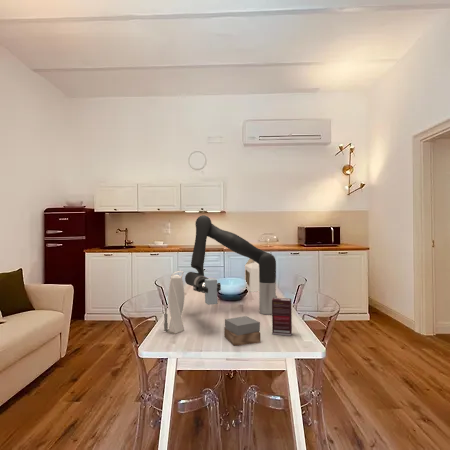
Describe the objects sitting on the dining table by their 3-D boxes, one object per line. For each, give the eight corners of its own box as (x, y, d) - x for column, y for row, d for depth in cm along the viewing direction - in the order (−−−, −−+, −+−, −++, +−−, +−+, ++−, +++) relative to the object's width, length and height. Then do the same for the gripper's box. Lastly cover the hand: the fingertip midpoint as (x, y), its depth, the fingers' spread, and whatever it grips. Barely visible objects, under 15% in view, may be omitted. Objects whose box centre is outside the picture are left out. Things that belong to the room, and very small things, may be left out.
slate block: (214, 301, 160) (214, 278, 159) (217, 303, 155) (217, 279, 155) (205, 302, 158) (204, 279, 158) (207, 304, 154) (207, 280, 154)
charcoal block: (246, 324, 154) (246, 316, 154) (259, 331, 145) (259, 322, 145) (224, 328, 149) (224, 319, 149) (237, 335, 139) (237, 325, 139)
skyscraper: (176, 327, 164) (176, 270, 164) (188, 331, 159) (188, 271, 159) (163, 331, 158) (163, 272, 158) (174, 335, 153) (174, 273, 152)
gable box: (244, 286, 268) (244, 251, 268) (261, 286, 270) (261, 251, 270) (250, 292, 246) (250, 254, 246) (268, 292, 248) (268, 253, 248)
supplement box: (291, 332, 155) (291, 298, 155) (291, 336, 151) (291, 300, 151) (273, 331, 158) (273, 297, 158) (271, 334, 153) (271, 299, 153)
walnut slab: (249, 334, 154) (249, 324, 154) (260, 343, 143) (260, 332, 143) (224, 337, 150) (224, 327, 150) (233, 346, 139) (233, 335, 139)
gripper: (188, 277, 168) (197, 283, 152) (216, 275, 172) (227, 280, 156) (189, 292, 168) (197, 299, 152) (216, 290, 173) (227, 297, 156)
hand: (212, 290), depth 154 cm, fingers closed on slate block, 4 cm apart
